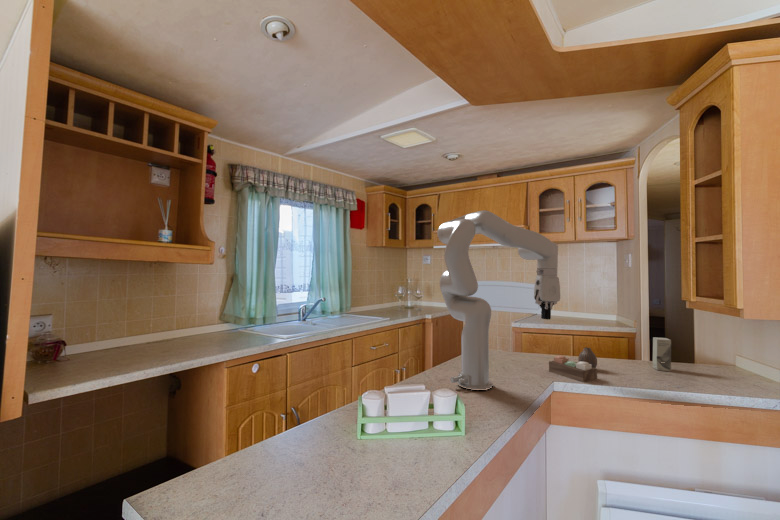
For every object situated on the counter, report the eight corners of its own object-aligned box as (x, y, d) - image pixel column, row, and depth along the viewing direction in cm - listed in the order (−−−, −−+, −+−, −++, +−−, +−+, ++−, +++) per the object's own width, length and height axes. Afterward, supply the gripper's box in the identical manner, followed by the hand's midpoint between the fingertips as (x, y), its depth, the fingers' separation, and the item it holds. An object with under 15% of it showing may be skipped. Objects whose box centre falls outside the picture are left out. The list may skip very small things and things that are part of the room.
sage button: (573, 371, 138) (573, 363, 138) (564, 368, 141) (564, 361, 141) (579, 370, 140) (579, 362, 140) (571, 367, 143) (570, 360, 143)
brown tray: (583, 382, 132) (583, 371, 132) (548, 371, 145) (548, 361, 145) (597, 379, 135) (596, 368, 136) (562, 368, 149) (562, 359, 149)
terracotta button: (562, 365, 142) (562, 358, 142) (553, 363, 146) (553, 356, 146) (568, 364, 144) (568, 357, 144) (560, 362, 147) (560, 355, 147)
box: (656, 370, 146) (656, 339, 147) (652, 367, 151) (652, 337, 151) (672, 371, 145) (671, 339, 145) (667, 368, 149) (666, 337, 149)
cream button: (585, 372, 134) (584, 364, 134) (575, 369, 137) (575, 362, 137) (591, 370, 135) (591, 363, 135) (582, 368, 139) (582, 360, 139)
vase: (574, 368, 150) (574, 347, 150) (585, 366, 153) (585, 345, 153) (589, 372, 144) (589, 350, 144) (601, 370, 147) (600, 349, 147)
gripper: (540, 272, 137) (539, 320, 136) (568, 274, 143) (567, 319, 143) (526, 272, 144) (524, 318, 143) (552, 273, 150) (551, 317, 150)
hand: (545, 318), depth 143 cm, fingers closed
